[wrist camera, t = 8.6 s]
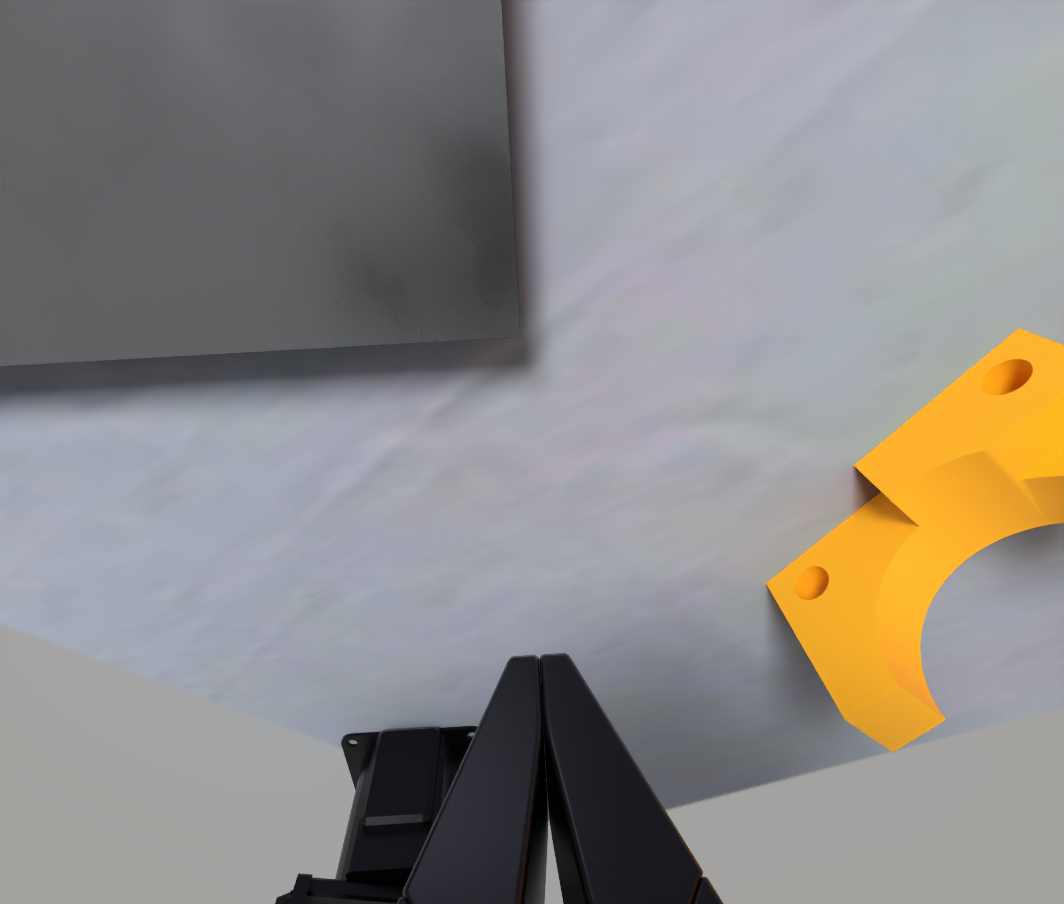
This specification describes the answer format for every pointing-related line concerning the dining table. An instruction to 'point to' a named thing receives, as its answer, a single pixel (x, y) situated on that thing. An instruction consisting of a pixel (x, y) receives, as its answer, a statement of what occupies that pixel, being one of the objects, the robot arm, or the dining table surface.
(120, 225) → the dark grey slab
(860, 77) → the dining table surface
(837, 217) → the dining table surface
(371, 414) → the dining table surface
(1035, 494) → the pipe clamp
